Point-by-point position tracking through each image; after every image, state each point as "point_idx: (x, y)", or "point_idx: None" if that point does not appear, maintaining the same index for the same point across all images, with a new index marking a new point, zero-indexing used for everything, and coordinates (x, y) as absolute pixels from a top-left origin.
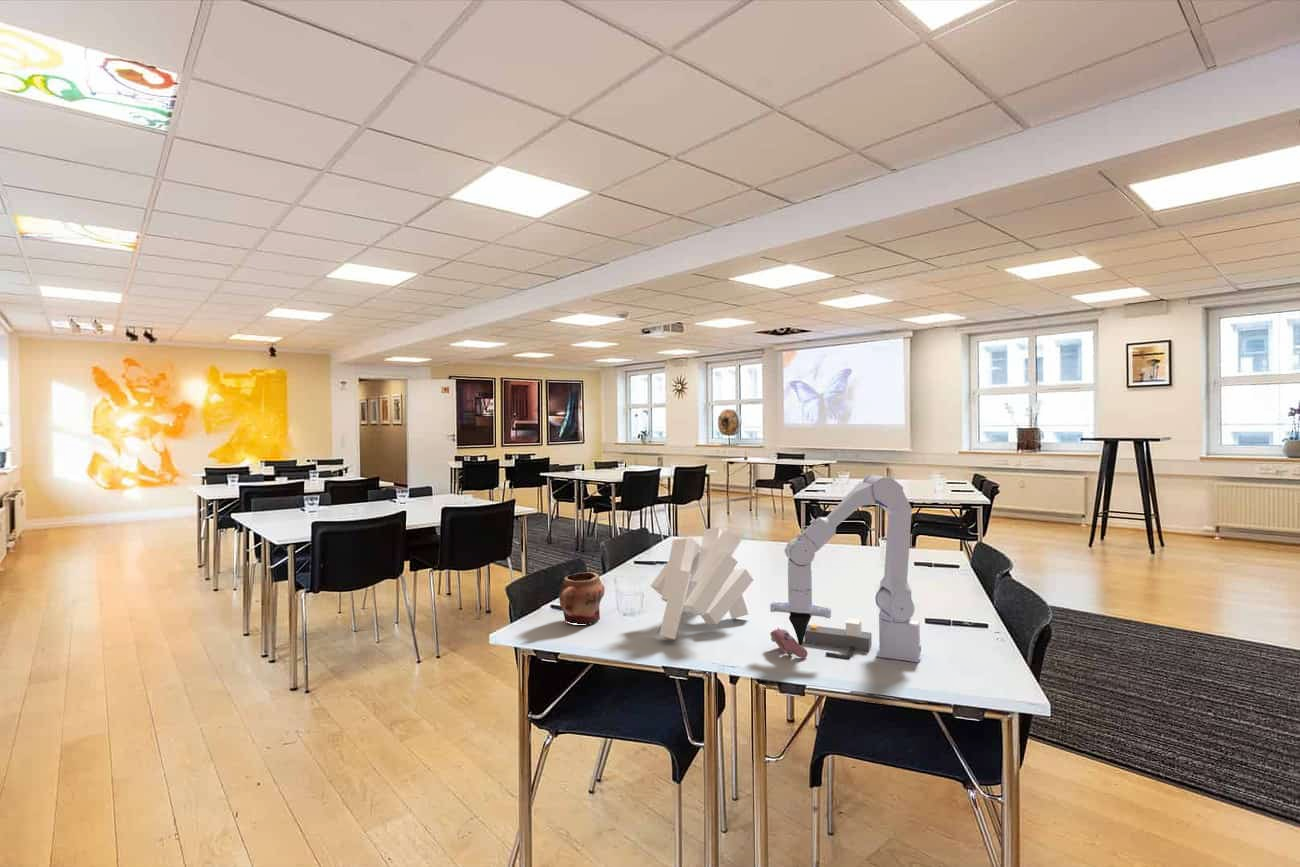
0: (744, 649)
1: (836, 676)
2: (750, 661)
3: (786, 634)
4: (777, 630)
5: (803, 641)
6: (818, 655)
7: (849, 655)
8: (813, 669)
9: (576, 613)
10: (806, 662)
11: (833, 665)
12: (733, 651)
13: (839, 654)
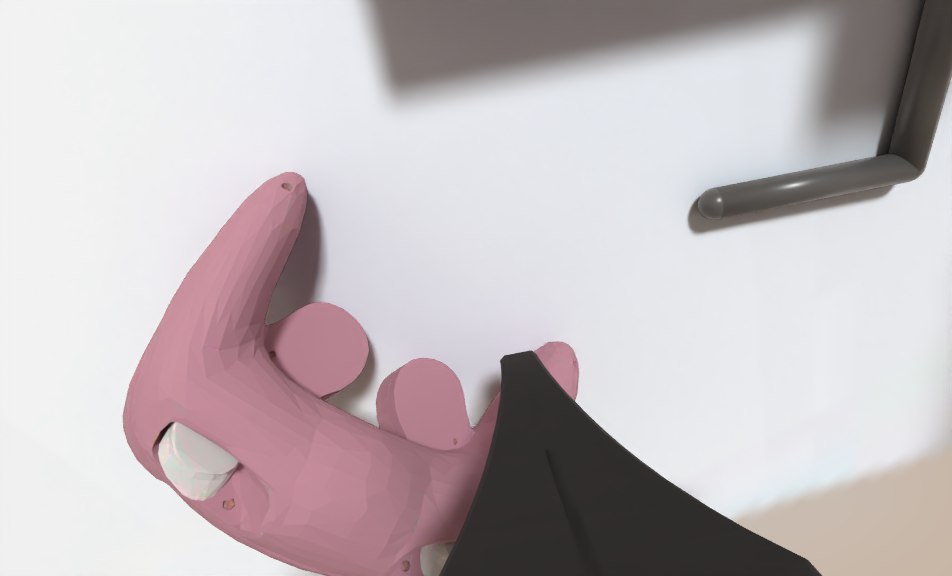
0: (52, 448)
1: (794, 477)
2: (267, 565)
3: (407, 551)
4: (254, 542)
5: (537, 356)
6: (633, 235)
7: (927, 156)
8: (654, 468)
9: None
10: (584, 406)
11: (770, 354)
12: (33, 514)
13: (837, 192)
